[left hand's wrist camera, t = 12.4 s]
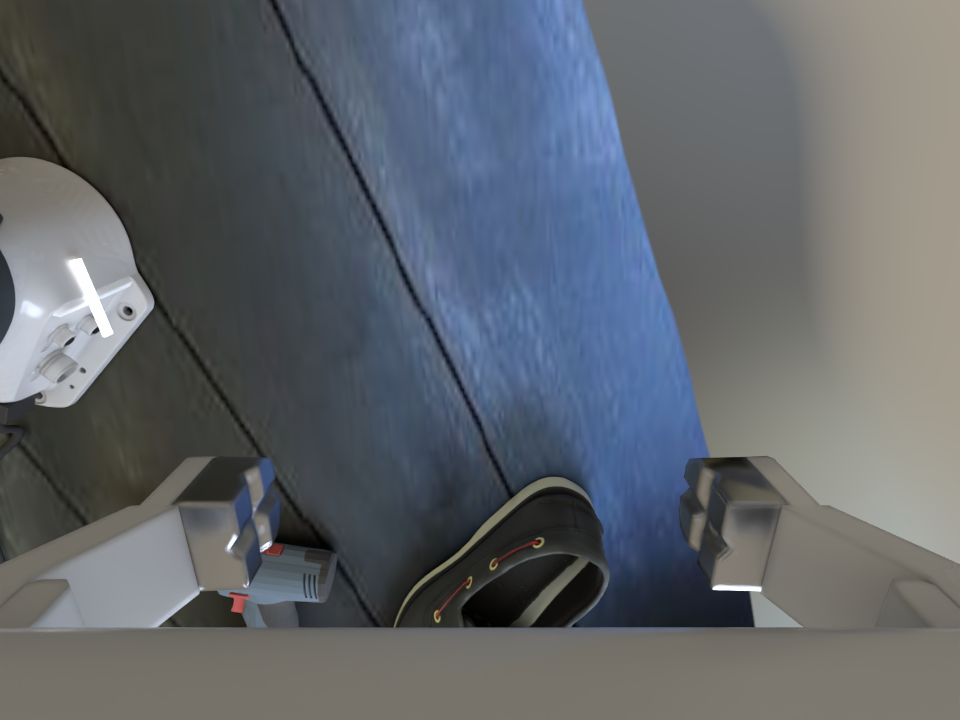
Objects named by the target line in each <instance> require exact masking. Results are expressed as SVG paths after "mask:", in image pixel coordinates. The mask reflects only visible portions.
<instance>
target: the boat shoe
mask: <svg viewBox="0 0 960 720" xmlns="http://www.w3.org/2000/svg"><path fill="white" fill-rule="evenodd" d="M603 533H604V531H603V528H602V524H601V522H600V521H599V519H598V518H597V516H596V514H595V512H594V508H593V505H592V503H591V500H590V498H589V496H588V495H587V493H586V492H585V491H584V490H583V489H582V488H581V487H579V486H578V485H577V484H575V483H573V482H571V481H569V480H567V479H565V478H562V477H547V478H543V479H540V480H537V481H535V482H533V483H531V484H530V485H528V486H526V487H525V488H524V489H523V490H521V491H520V492H519V493H518V494H516V495H515V496H514V497H513V498H512V499H511V500H510V501H508V502H507V503H506V504H505V505H504V506H503V507H502V508H501V509H499V510H498V511H497V512H496V513H495V514H494V515H493V516H492V517H491V518H489V519H488V520H487V521H486V522H485V523H484V524H483V525H482V526H481V528H480V529H479V530H478V531H477V532H476V533H475V535H474V536H473V537H472V538H471V540H470V541H469V542H468V543H467V544H466V545H465V546H464V547H463V548H462V549H461V550H460V551H459V552H458V553H456V554H455V555H454V556H453V557H451V558H450V559H449V560H447V561H446V562H445V563H443V564H442V565H440V566H439V567H437V568H436V569H434V570H433V571H432V572H430V573H429V574H428V575H426V576H425V577H424V578H423V579H422V580H420V581H419V582H418V583H417V584H416V585H415V586H414V588H413V589H412V590H411V591H410V593H409V594H408V596H407V597H406V599H405V600H404V602H403V604H402V606H401V608H400V610H399V613H398V615H397V618H396V621H395V624H394V628H569V627H570V626H572V625H573V624H574V623H575V622H576V621H578V620H579V619H580V618H582V617H583V616H584V615H585V614H587V613H588V612H589V611H590V610H591V609H592V608H593V607H594V606H595V605H596V604H597V602H598V601H599V600H600V598H601V597H602V595H603V593H604V592H605V590H606V588H607V585H608V581H609V568H608V563H607V560H606V558H605V553H604V550H603V543H602V535H603Z"/></svg>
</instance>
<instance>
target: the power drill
mask: <svg viewBox="0 0 960 720" xmlns="http://www.w3.org/2000/svg"><path fill="white" fill-rule="evenodd" d="M261 556H262V562H263V563H262V564H261V566H260V568H259V570H258V572H257V574H256V575H255V577H254V579H253V581H252V583H251V584H250V586H249V588H248V590H217V591H218V593H219V594H220V595H223V596H226V597H233V598H234V603H233V607H232V609H231V611H232V612H239V613H242V615H243V618H244V620H245V622H246V625H247V627H246V628H299V621H298V612H297V609H296V607H295V601H303V602H316V603H324V602H326V601H327V599H328V596H329V594H330V591H331V587H332V584H333V580H334V575H335V570H336V564H337V553H336V552H334V551H330V550H323V549H315V548H309V547H302V546H296V545H289V544H282V543H276V542H273V544H272V545H271V546H270V547H268V548H267V549H265V550H264V551H262V552H261Z"/></svg>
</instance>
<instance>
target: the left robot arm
mask: <svg viewBox="0 0 960 720" xmlns="http://www.w3.org/2000/svg"><path fill="white" fill-rule="evenodd" d="M128 307H130V308H131V309H132V311H133V313H131V312H130V311H129V310H128ZM153 307H154V299H153V296H152V294H151V292H150V290H149V288H148V286H147V285H146V283H145V282H144V280H143V279H142V277H141V276H140V274H139V273H138V271H137V268H136V265H135V261H134V257H133V252H132V248H131V244H130V241H129V238H128V235H127V233H126V231H125V229H124V227H123V225H122V223H121V221H120V219H119V217H118V216H117V214H116V213H115V211H114V210H113V208H112V207H111V206H110V204H109V203H108V202H107V201H106V200H105V198H104V197H103V196H102V195H101V194H100V193H99V192H98V191H97V190H96V189H95V188H94V187H92V186H91V185H90V184H89V183H88V182H86V181H85V180H84V179H82V178H81V177H79V176H78V175H76V174H75V173H73V172H71V171H70V170H68V169H66V168H64V167H62V166H59V165H57V164H54V163H52V162H49V161H45V160H42V159H37V158H31V157H10V158H5V159H0V433H13V434H12V437H11V438H10V439H9V440H8V441H7V442H6V443H5V444H4V445H3V446H2V447H0V459H1V458H2V457H3V456H4V455H6V454H7V453H8V452H9V451H10V450H11V449H12V448H13V447H15V446H16V444H17V443H18V442H19V441H20V440H21V438H22V436H23V433H24V431H23V428H22V427H21V426H19V425H6V424H8V423H10V422H11V421H13V420H15V419H17V418H19V417H20V416H22V415H24V414H26V413H28V412H29V411H31V410H33V409H34V405H35V404H38V405H43V406H48V407H67V406H70V405H72V404H74V403H75V402H77V401H78V400H79V399H80V397H81V396H82V395H83V394H84V393H85V391H86V390H87V389H88V388H89V386H90V385H91V384H92V383H93V382H94V380H95V379H96V378H97V377H98V375H99V374H100V373H101V372H102V371H103V369H104V368H105V367H106V366H107V364H108V363H109V362H110V361H111V360H112V358H113V357H114V356H115V355H116V353H117V352H118V351H119V350H120V349H121V347H122V346H123V345H124V344H125V342H126V341H127V340H128V339H129V338H130V336H131V335H132V334H133V333H134V331H135V330H136V329H137V328H138V327H139V325H140V324H141V323H142V322H143V320H144V319H145V318H146V317H147V316H148V314H149V313H150V312H151V311H152V309H153ZM40 393H41V394H42V395H41V394H40ZM275 478H276V474H275V469H274V465H273V462H272V461H271V460H270V459H269V458H262V457H216V456H203V457H190V458H186V459H185V460H184V461H183V462H182V463H181V464H180V465H179V466H178V467H177V468H176V469H175V470H174V471H173V472H172V473H171V474H170V475H169V476H168V477H167V478H166V479H165V480H164V481H163V482H162V483H161V484H160V485H159V486H158V487H157V488H156V489H155V490H154V491H153V492H152V493H151V494H150V495H149V497H148V498H147V499H146V500H145V501H144V502H143V503H142V504H141V505H136V506H129V507H127V508H124V509H122V510H120V511H118V512H115V513H113V514H111V515H109V516H106V517H104V518H102V519H100V520H98V521H95V522H93V523H91V524H89V525H86V526H84V527H82V528H80V529H78V530H75V531H73V532H71V533H69V534H66V535H64V536H62V537H60V538H57V539H55V540H53V541H51V542H49V543H46V544H44V545H42V546H40V547H37V548H35V549H33V550H31V551H28V552H26V553H24V554H22V555H20V556H17V557H15V558H13V559H11V560H8V561H5V558H4V555H3V553H2V550H1V546H0V720H960V564H958V563H956V562H953V561H951V560H949V559H947V558H945V557H942V556H940V555H938V554H936V553H933V552H931V551H929V550H927V549H925V548H922V547H920V546H918V545H916V544H913V543H911V542H909V541H907V540H905V539H902V538H900V537H898V536H896V535H893V534H891V533H889V532H887V531H885V530H882V529H880V528H878V527H876V526H873V525H871V524H869V523H867V522H865V521H862V520H860V519H858V518H856V517H853V516H851V515H849V514H847V513H845V512H842V511H840V510H838V509H836V508H833V507H831V506H824V505H819V504H818V502H816V500H814V498H813V497H812V496H811V495H810V494H809V493H808V492H807V491H806V490H805V489H804V488H803V487H802V486H801V485H800V484H799V483H798V482H797V481H796V480H795V479H794V478H793V477H792V476H791V475H790V474H789V473H788V472H787V471H786V470H785V469H784V468H783V467H782V466H781V465H780V464H779V463H778V462H777V461H776V460H775V459H773V458H771V457H768V456H756V457H726V458H691V459H689V461H688V463H687V465H686V468H685V474H684V478H685V480H686V481H687V483H688V484H689V486H690V488H689V489H688V490H687V491H686V492H685V493H684V494H683V495H682V496H681V498H680V506H679V519H680V527H681V530H682V533H683V536H684V538H685V540H686V542H687V544H688V545H689V546H690V547H692V548H693V549H695V550H696V551H698V552H699V556H698V562H697V563H698V564H699V566H700V568H701V570H702V572H703V574H704V575H705V577H706V579H707V581H708V583H709V584H710V586H711V588H712V590H744V591H761V592H760V593H761V594H762V595H763V596H764V597H766V598H767V599H768V600H770V601H771V602H772V603H773V604H775V605H776V606H777V607H779V608H780V609H781V610H782V611H783V612H785V613H786V614H787V615H789V616H790V617H791V618H792V619H794V620H795V621H796V622H797V623H799V624H800V625H801V626H802V627H803V628H802V627H799V628H796V627H795V628H794V627H792V628H789V627H786V628H785V627H782V628H781V627H776V628H775V627H774V628H205V627H158V626H159V625H160V624H162V623H163V622H164V621H165V620H167V619H168V618H169V617H170V616H172V615H173V614H174V613H175V612H177V611H178V610H179V609H181V608H182V607H183V606H184V605H186V604H187V603H188V602H189V601H191V600H192V599H193V598H194V597H196V596H197V595H198V594H199V593H200V592H199V591H215V590H248V588H249V586H250V584H251V583H252V581H253V579H254V577H255V575H256V574H257V572H258V570H259V568H260V566H261V564H262V563H263V562H262V556H261V552H262V551H264V550H265V549H267V548H268V547H270V546H271V545H272V544H273V542H274V540H275V538H276V536H277V534H278V530H279V525H280V521H281V504H280V498H279V496H278V495H277V494H276V493H275V492H274V491H273V490H272V489H271V488H270V486H271V484H272V483H273V481H274V480H275Z"/></svg>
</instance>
